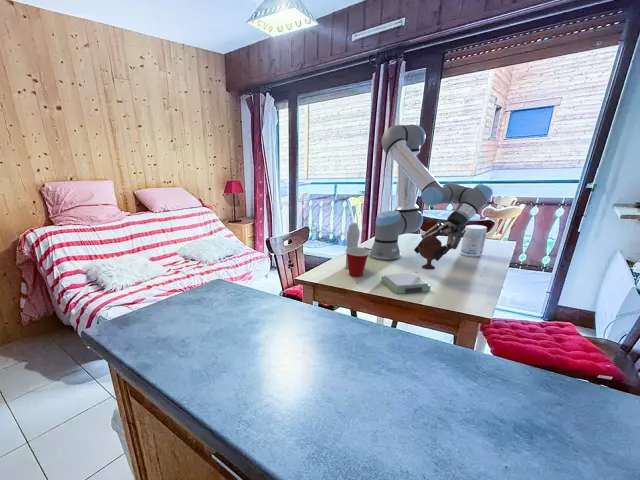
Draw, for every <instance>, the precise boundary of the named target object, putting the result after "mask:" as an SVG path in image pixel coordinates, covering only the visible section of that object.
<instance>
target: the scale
mask: <svg viewBox="0 0 640 480" xmlns="http://www.w3.org/2000/svg"><path fill="white" fill-rule="evenodd" d="M381 282H382V283H383V284H384V285H385V286H386V287H388V289H389V290H391V291H392V292H393V293H394V294H396V295H398V294H410V293H411V294H412V293H422V292H423V293H424V292H431V285H430V284H429V283H428V282H427V281H426V280H424V279H423V278H421V277H419V276H418V275H416V274H415V273H413V272H409V273H394V274H393V273H392V274H384V275H383V276H381Z"/></svg>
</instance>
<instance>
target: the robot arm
mask: <svg viewBox="0 0 640 480" xmlns="http://www.w3.org/2000/svg"><path fill="white" fill-rule="evenodd" d="M425 142H426V131H425V130H424V128H423V127H422V126H421V125H417V124H395V125H392V126H390V127H388V128H387V129H386V130H385V131H384V132H383V134H382V137H381V147H382V150H383V151H384V153H385V154H386V155H387V157H388V158H392V159H393V160H394V162H396V164H397V206H396V207H395V208H394V210H389V211H382V212H380V213H378V214H377V215H376V219H375V227H374V231H375V232H374V242H373V244H372V247H371V248H369V247H365V246H364V247H363V248H364V249H367V250H369V251H370V253H369V257H370V258H371V259H375V260H379V261H394V260H398V259H400V257H401V251H400V247H399V236H401V235H402V236H403V235H406V234H412V233H415V232H417V231H418V230H420V228H421V227H422V226H423V222H424V216H423V214H422V212H421V211H419V206H418V205H417V203H416V201H417V199H416V197H417V196H416V195H417V189H418V190H419V191H420V193H421V197H420V198H421V202H422V203H423V204H424V205H425V206H437V205H442V204H447V203H457V204H458V205H457V206H456V207H455V209H453V211H452V212H451V213H450V214H449V215H448V216H447V218H446V221H445V222H441V221H437V222H436V224H434V226H432V227H430V228H429V229H428V230H426V231H425V232H424V233H422V234H421V235H420V237H421V240H420V241H419V242H418V244H417V246H416V247H414V248H413V251H414V252H415V253H416V254H420V253H419V250H418V246H420V245H422V240H423V238H424V237H426V236H429V235H433V236H435V237H436V238H438V237H439V236H443V235H447V240H446V244H444V245H442V246H443V247H442V248H441V249H440V250H439V251H438V252H437V254H436V255H435V256H434V258H435V259H434V260H435V261H437V262H439V261H440V260H441V258H442V257H444V256H445V255H446V254H447V253H448V252H449V251H450V250H456V249H457V248H458V246H459V244H460V242H461V240H462V239H463V236H464V233H465V232H466V230H465V227H466V226H467V224H468V222H469V221H470V220H471V219H472V218H473V217H474V216H475V215H476V214H477V213H478V212H479V210H480V209H481V208H482V207H483V206H484V205H485V204H486V203H487V202H488V201H489V200H490V198H491V197H492V196H493V193H494V192H493V189H492V188H491V186H489V185H487V184H485V183H478V184H477V185H475V186H474V187H470V186H466V185H463V184H459V183H457V182H449V181H447V182H445V184H443V185H442V184H440V182H438V180H437V179H436V177H434V176H433V174H431V172H430V171H429V170H428V168H427V167H426V166H425V165H424V164H423V163H422V162H421V161H420V160H419V158H418V157H417V156H418V155H419V154H420V152H421V148H422V147H423V145H424V144H425Z"/></svg>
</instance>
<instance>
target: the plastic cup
mask: <svg viewBox="0 0 640 480" xmlns="http://www.w3.org/2000/svg"><path fill="white" fill-rule="evenodd" d="M344 251H345V252H346V254H347V260H348V274H349V276H351V277H354V278H360V277H362V276H363V274H364V270H365V267H366V263H367V259H368V257H369V256H370V251H371V250H367V249H365V248H364V247H359V246H358V247H351V248H347V247H346V249H345V250H344Z"/></svg>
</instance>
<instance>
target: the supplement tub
mask: <svg viewBox="0 0 640 480" xmlns="http://www.w3.org/2000/svg"><path fill="white" fill-rule="evenodd" d="M464 229H465V230H466V232H465V233H464V234H463V236H462V241H461V248H460V254H461V255H463V256H465V257H473V258H475V257H481V256H482V255H483V251H484V247H485V242H486V237H487V232H488V227H487V226H485V225H480V224H469V225H465V226H464Z"/></svg>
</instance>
